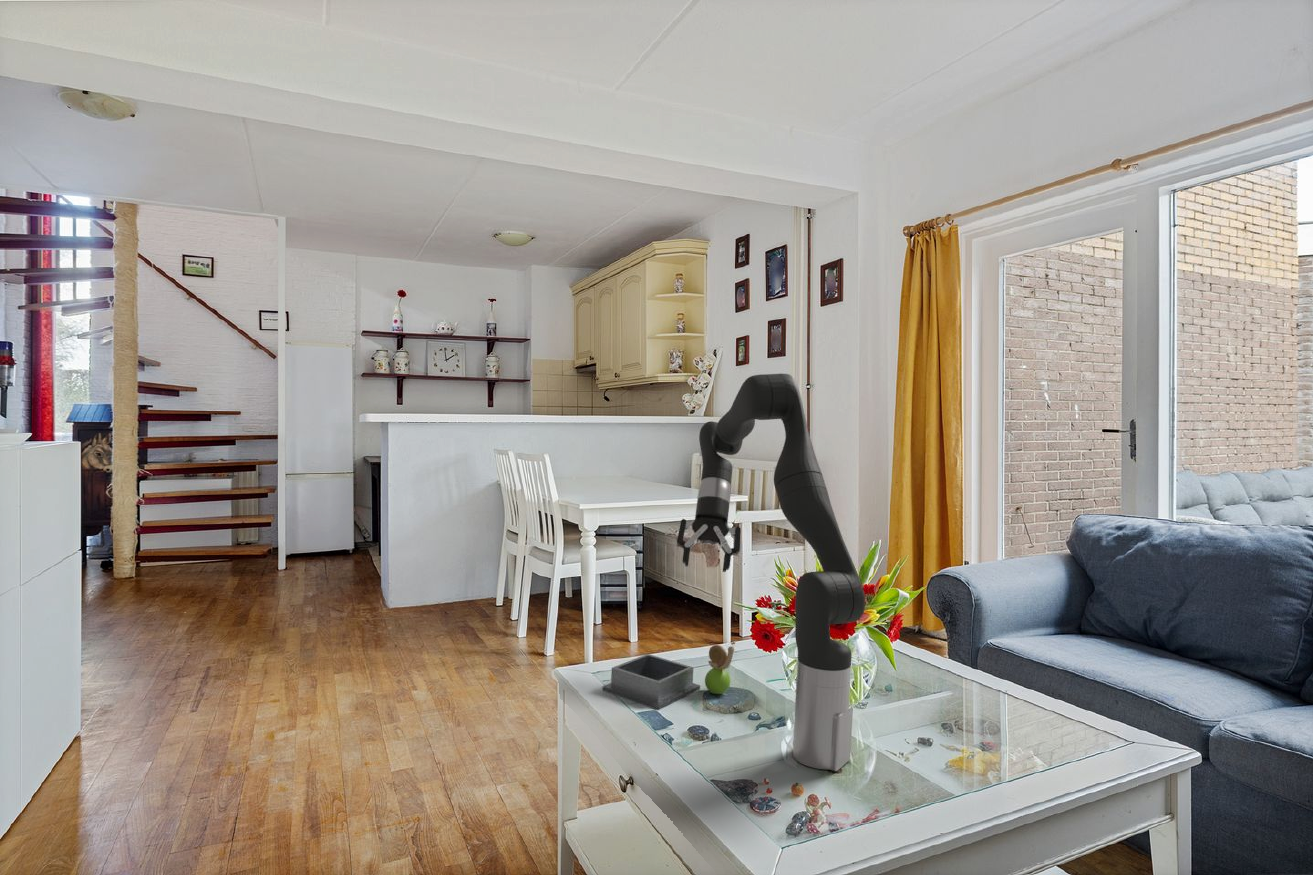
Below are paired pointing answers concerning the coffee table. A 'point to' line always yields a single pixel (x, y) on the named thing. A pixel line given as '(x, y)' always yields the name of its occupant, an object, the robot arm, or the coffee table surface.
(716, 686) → the snail figurine
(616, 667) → the duct collar
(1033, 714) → the coffee table surface
